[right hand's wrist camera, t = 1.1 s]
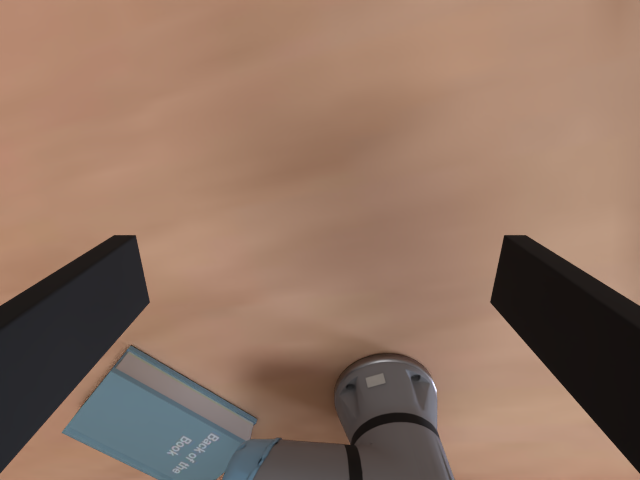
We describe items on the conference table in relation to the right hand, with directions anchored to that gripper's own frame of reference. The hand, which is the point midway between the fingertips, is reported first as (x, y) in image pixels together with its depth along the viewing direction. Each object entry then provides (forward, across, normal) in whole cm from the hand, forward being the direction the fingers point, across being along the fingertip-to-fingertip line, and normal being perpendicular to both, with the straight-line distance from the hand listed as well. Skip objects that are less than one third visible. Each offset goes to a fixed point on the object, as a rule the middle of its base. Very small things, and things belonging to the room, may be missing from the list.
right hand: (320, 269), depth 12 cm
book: (+30, +24, +40) cm, 55 cm away
